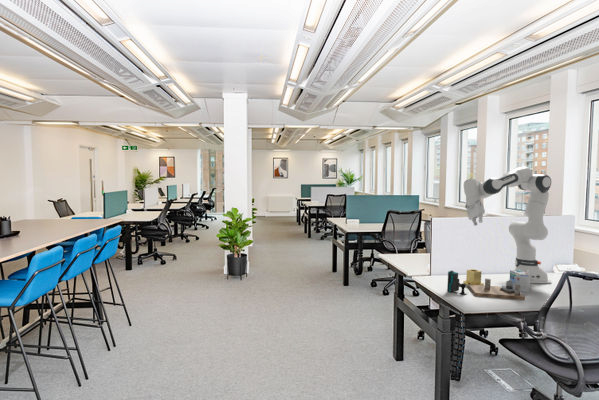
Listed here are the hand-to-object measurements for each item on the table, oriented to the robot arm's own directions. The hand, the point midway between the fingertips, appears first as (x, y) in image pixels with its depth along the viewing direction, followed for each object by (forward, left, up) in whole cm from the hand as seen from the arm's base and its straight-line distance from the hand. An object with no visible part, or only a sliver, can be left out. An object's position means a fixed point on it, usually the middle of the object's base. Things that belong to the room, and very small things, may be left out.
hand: (478, 224), depth 240 cm
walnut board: (-7, +17, -39) cm, 43 cm away
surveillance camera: (+15, +22, -39) cm, 48 cm away
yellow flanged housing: (+1, 0, -39) cm, 39 cm away
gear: (-15, +16, -37) cm, 43 cm away
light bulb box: (-25, +2, -39) cm, 47 cm away
